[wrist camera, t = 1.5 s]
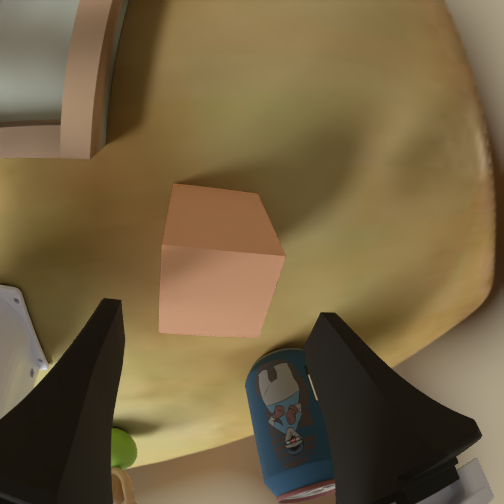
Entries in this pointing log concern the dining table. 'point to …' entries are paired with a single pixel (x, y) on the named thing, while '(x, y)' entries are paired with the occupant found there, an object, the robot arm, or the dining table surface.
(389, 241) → the dining table surface
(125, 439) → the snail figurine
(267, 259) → the terracotta block
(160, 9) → the dining table surface
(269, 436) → the soda can
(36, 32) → the walnut base
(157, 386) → the dining table surface
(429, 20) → the dining table surface
